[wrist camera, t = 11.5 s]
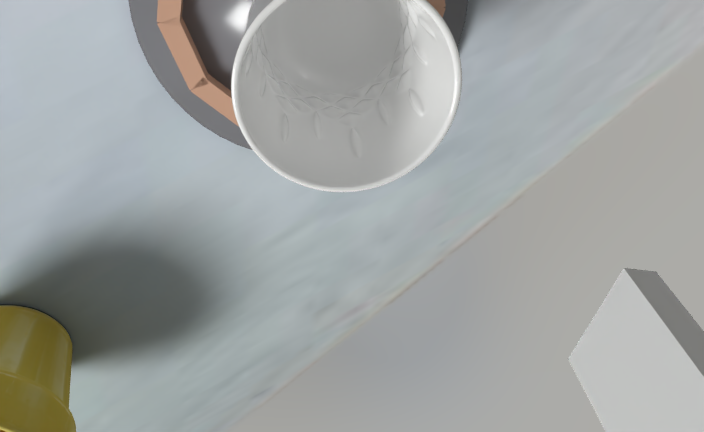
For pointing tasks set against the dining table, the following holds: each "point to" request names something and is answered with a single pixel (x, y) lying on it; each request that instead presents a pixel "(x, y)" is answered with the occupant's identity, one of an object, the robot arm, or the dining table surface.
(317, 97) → the white cup
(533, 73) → the dining table surface
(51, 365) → the plant pot
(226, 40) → the trivet
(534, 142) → the dining table surface
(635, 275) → the robot arm
